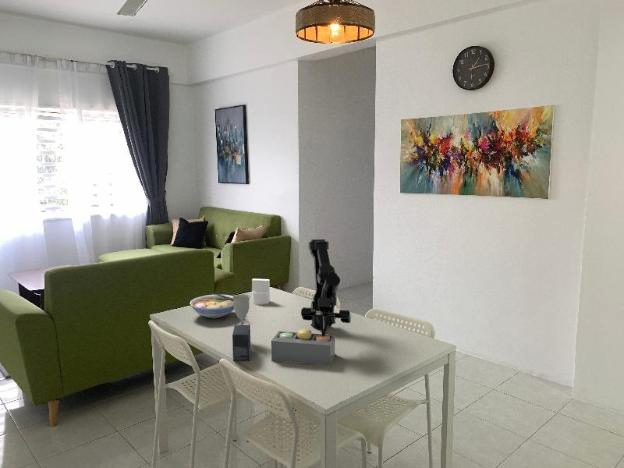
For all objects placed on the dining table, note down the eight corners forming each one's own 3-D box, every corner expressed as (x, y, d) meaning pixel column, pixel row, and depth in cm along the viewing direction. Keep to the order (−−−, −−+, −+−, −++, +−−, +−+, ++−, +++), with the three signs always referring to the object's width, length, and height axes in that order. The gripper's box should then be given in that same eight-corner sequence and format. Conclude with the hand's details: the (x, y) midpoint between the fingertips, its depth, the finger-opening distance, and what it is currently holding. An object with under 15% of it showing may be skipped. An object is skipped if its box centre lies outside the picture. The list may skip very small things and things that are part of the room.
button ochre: (299, 336, 184) (299, 328, 184) (312, 337, 183) (312, 329, 183) (296, 341, 179) (296, 333, 179) (309, 342, 178) (309, 334, 178)
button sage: (281, 339, 186) (281, 332, 185) (294, 340, 185) (294, 333, 184) (278, 344, 181) (277, 336, 180) (291, 345, 180) (291, 337, 179)
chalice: (236, 343, 194) (235, 300, 191) (231, 337, 200) (230, 295, 197) (253, 340, 198) (252, 297, 195) (247, 334, 203) (247, 293, 201)
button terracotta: (317, 341, 183) (317, 333, 183) (330, 342, 182) (330, 334, 181) (314, 346, 178) (314, 338, 177) (328, 347, 177) (328, 339, 176)
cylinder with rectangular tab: (250, 304, 247) (249, 281, 245) (255, 299, 256) (254, 277, 254) (267, 305, 246) (267, 282, 244) (271, 300, 254) (271, 277, 252)
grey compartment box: (279, 349, 188) (278, 331, 187) (334, 354, 184) (334, 335, 182) (271, 360, 178) (271, 340, 177) (330, 365, 173) (330, 345, 172)
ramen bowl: (180, 315, 229) (179, 298, 228) (221, 305, 245) (221, 289, 243) (207, 328, 211) (206, 310, 210) (250, 317, 226) (250, 300, 225)
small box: (234, 350, 187) (233, 324, 185) (251, 349, 188) (250, 324, 186) (232, 361, 177) (231, 334, 175) (250, 361, 177) (249, 333, 176)
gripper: (301, 287, 184) (295, 324, 175) (350, 289, 181) (346, 327, 172) (306, 301, 193) (300, 337, 184) (352, 304, 190) (348, 340, 180)
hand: (323, 335), depth 180 cm, fingers closed
